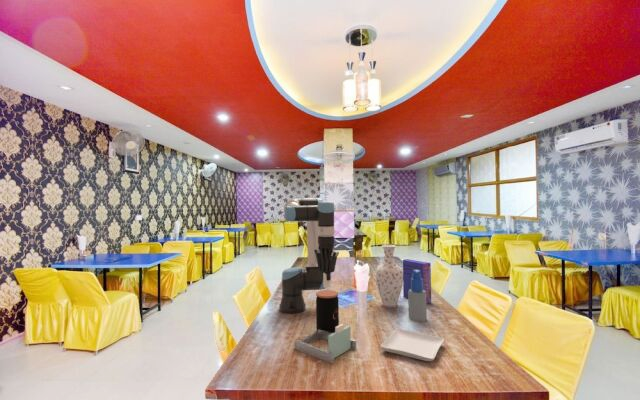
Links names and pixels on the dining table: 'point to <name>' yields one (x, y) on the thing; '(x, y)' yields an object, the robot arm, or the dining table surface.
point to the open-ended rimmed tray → (314, 351)
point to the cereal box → (425, 275)
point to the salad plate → (413, 344)
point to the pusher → (339, 340)
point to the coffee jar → (327, 310)
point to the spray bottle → (417, 298)
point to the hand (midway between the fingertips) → (326, 287)
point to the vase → (389, 278)
